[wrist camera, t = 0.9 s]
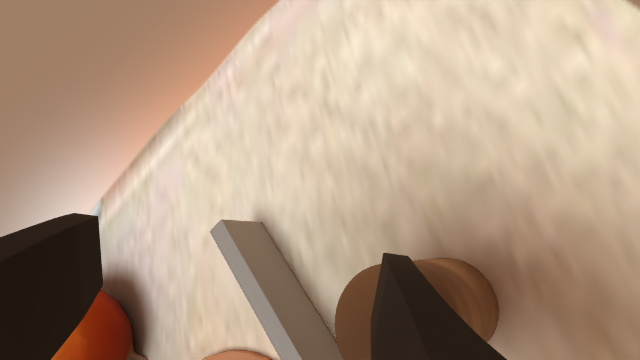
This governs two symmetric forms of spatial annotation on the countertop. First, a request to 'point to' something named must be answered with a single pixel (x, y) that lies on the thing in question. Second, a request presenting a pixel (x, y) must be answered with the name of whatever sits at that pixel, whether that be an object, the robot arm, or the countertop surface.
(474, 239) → the countertop surface
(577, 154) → the countertop surface
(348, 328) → the walnut cylinder
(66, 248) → the robot arm
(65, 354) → the fruit
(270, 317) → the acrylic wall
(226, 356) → the saucer
